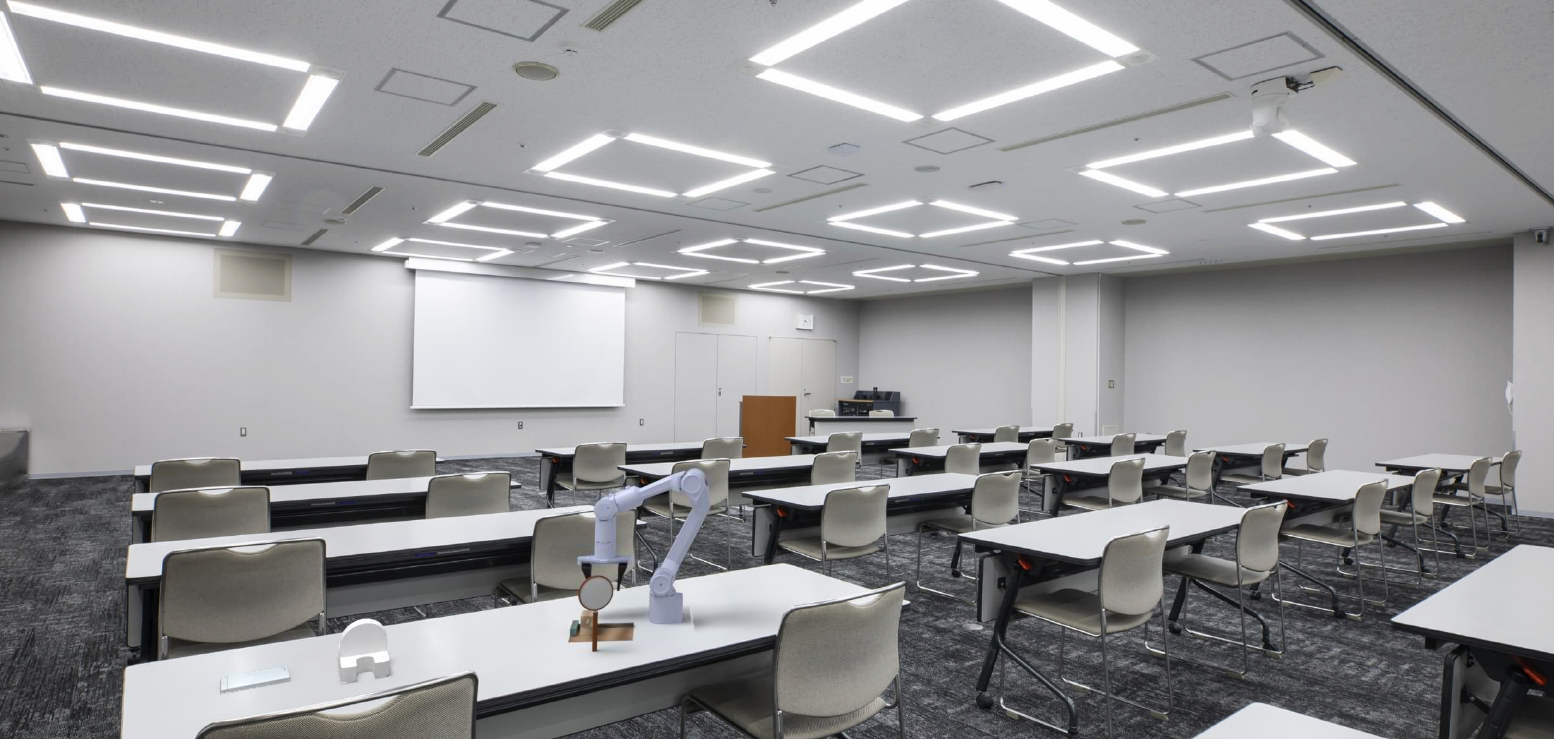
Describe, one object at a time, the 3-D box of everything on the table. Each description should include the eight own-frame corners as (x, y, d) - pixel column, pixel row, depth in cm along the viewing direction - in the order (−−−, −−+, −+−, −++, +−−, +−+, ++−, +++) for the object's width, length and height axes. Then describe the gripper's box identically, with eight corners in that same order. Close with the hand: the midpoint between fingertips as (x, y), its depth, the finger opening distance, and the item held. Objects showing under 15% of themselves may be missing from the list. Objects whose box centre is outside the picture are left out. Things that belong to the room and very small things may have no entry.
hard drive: (287, 664, 176) (220, 676, 169) (290, 676, 169) (220, 689, 162) (287, 671, 176) (220, 683, 169) (290, 684, 169) (220, 696, 162)
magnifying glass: (577, 660, 185) (579, 577, 185) (575, 658, 187) (577, 576, 187) (612, 655, 189) (614, 574, 189) (610, 653, 191) (612, 572, 191)
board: (633, 631, 206) (634, 618, 206) (632, 646, 196) (632, 632, 196) (572, 633, 204) (573, 619, 204) (567, 648, 193) (568, 634, 193)
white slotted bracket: (340, 685, 169) (342, 636, 169) (338, 658, 184) (339, 613, 184) (389, 677, 174) (390, 629, 174) (382, 651, 189) (383, 607, 189)
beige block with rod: (598, 626, 205) (598, 607, 205) (595, 638, 196) (595, 619, 196) (582, 626, 205) (583, 607, 205) (579, 639, 195) (579, 619, 195)
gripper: (576, 544, 207) (575, 594, 207) (631, 544, 209) (630, 593, 209) (579, 538, 213) (578, 587, 213) (632, 538, 216) (631, 586, 216)
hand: (604, 590), depth 212 cm, fingers open, 7 cm apart
